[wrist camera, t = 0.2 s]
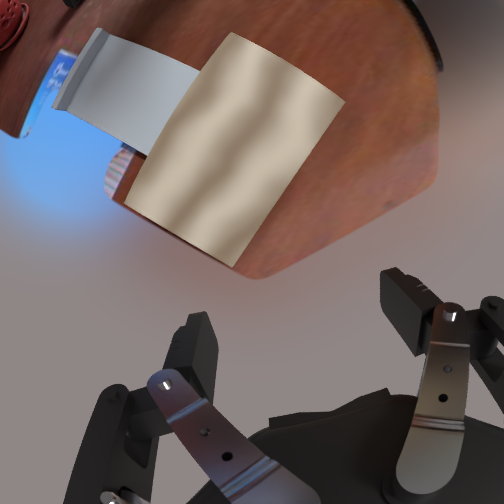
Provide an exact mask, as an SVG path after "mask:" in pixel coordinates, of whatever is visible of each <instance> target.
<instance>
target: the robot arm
mask: <svg viewBox="0 0 504 504" xmlns="http://www.w3.org/2000/svg"><path fill="white" fill-rule="evenodd" d="M380 302H381V307H382V310H383V312H384V314H385V315H386V317H387V318H388V319H389V321H390V322H391V323H392V325H393V326H394V328H395V329H396V330H397V332H398V333H399V335H400V336H401V337H402V339H403V340H404V341H405V343H406V344H407V346H408V347H409V349H410V350H411V352H412V353H413V354H414V356H415V357H416V356H418V355H421V354H423V353H425V355H426V359H425V363H424V368H423V372H422V377H421V381H420V385H419V389H418V393H417V396H411V395H402V394H399V395H390V393H389V391H388V389H387V388H384V389H382V390H379V391H376V392H373V393H370V394H367V395H364V396H360V397H358V398H356V399H355V400H353V401H351V402H349V403H347V404H345V405H343V406H341V407H340V408H337V409H336V410H333V411H330V412H303V413H302V412H299V413H294V414H289V415H284V416H278V417H273V418H269V427H267V428H264V429H262V430H260V431H258V432H256V433H255V434H253V435H252V436H250V437H249V438H248V439H247V438H246V437H245V436H243V434H241V433H240V432H239V431H238V430H237V429H236V428H235V427H234V426H233V425H232V424H231V423H230V422H229V421H228V420H227V419H226V418H225V417H224V416H223V415H222V414H221V413H220V412H218V410H217V409H216V408H215V407H214V406H213V398H214V388H215V379H216V369H217V360H218V351H219V350H218V342H217V338H216V336H215V333H214V330H213V328H212V325H211V322H210V320H209V317H208V315H207V313H206V312H205V311H204V312H199V313H193V314H189V316H188V319H187V322H186V325H185V326H181V327H180V328H179V329H178V330H177V331H176V332H175V333H174V335H173V338H172V341H171V342H172V343H171V344H170V347H169V350H168V353H167V356H166V359H165V363H164V366H163V369H162V370H160V371H158V372H156V373H155V374H154V375H152V376H151V377H150V379H149V380H148V382H147V386H146V387H144V388H140V389H137V390H134V391H129V390H128V389H127V387H126V386H124V385H122V384H114V385H111V386H109V387H107V388H106V389H104V390H103V391H102V392H101V394H100V396H99V398H98V400H97V403H96V405H95V408H94V411H93V413H92V416H91V419H90V421H89V424H88V426H87V429H86V432H85V435H84V438H83V440H82V443H81V446H80V449H79V452H78V455H77V458H76V461H75V464H74V467H73V471H72V474H71V477H70V481H69V484H68V488H67V491H66V495H65V499H64V502H63V504H151V503H150V501H151V492H152V485H153V477H154V469H155V462H156V456H157V449H158V442H159V436H162V435H165V434H169V433H172V432H174V433H175V434H176V435H177V437H178V438H179V440H180V441H181V442H182V444H183V445H184V446H185V447H186V449H187V450H188V452H189V453H190V454H191V456H192V457H193V458H194V459H195V461H196V462H197V463H198V464H199V466H200V467H201V468H202V469H203V471H204V472H205V473H206V474H207V475H208V476H209V478H210V480H209V481H208V482H207V483H206V484H205V485H204V486H203V487H202V488H201V489H200V490H199V491H198V493H197V494H196V495H195V496H194V497H193V498H192V499H191V500H190V501H189V502H187V503H186V504H504V429H503V428H500V427H497V426H494V425H491V424H488V423H485V422H482V421H479V420H476V419H474V418H471V417H468V416H466V415H465V408H466V400H467V391H468V380H469V364H470V363H471V365H472V366H473V367H474V369H475V370H476V372H477V373H478V375H479V376H480V378H481V379H482V380H483V382H484V384H485V385H486V387H487V388H488V390H489V391H490V393H491V394H492V396H493V398H494V399H495V401H496V402H497V404H498V406H499V407H500V409H501V411H502V412H503V414H504V355H503V354H502V353H501V352H500V350H499V349H498V348H497V344H498V341H499V342H500V343H501V344H502V345H503V346H504V299H502V298H500V297H497V296H488V297H485V298H484V299H483V300H482V301H481V305H480V309H476V310H469V311H465V309H464V308H463V307H462V306H461V305H459V304H457V303H453V302H445V303H444V302H442V301H441V300H440V299H439V298H438V297H437V296H436V295H435V294H434V293H433V292H432V291H431V290H430V289H428V288H427V287H426V286H425V285H423V283H422V282H421V281H420V280H419V279H417V278H415V277H413V276H411V275H405V274H404V273H403V272H401V271H400V270H399V269H398V268H396V267H394V268H391V269H387V270H383V271H381V273H380Z"/></svg>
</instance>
